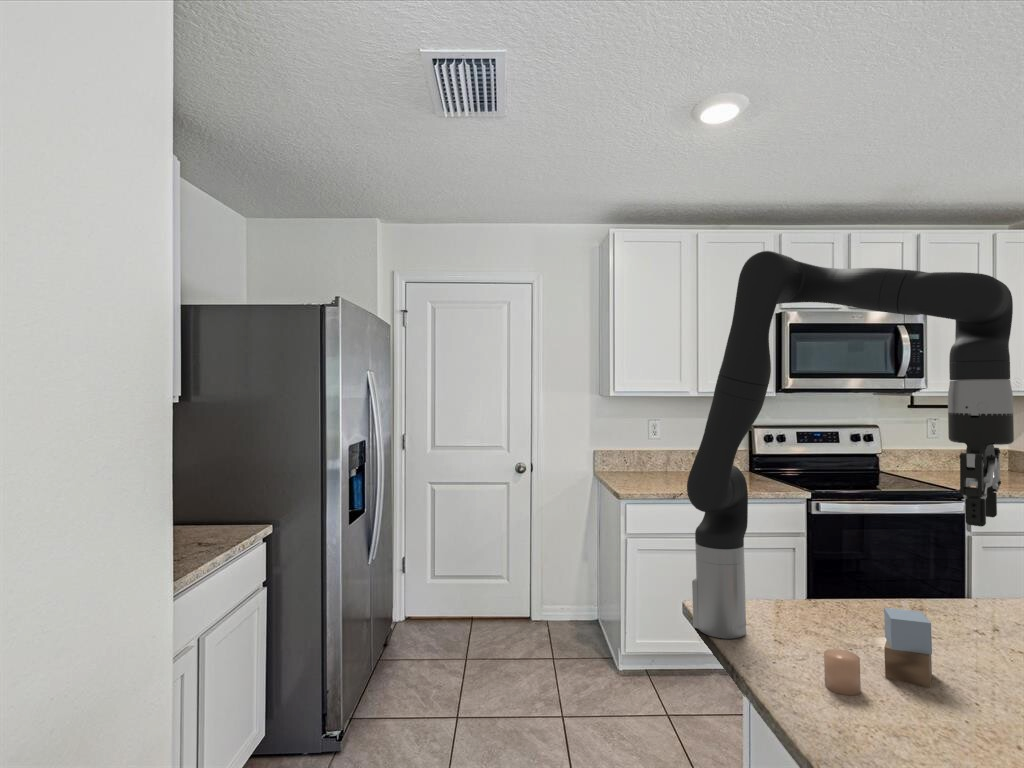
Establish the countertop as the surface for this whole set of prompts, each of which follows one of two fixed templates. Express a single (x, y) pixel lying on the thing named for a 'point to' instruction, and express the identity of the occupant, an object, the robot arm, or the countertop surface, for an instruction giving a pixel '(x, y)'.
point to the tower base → (908, 666)
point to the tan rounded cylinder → (842, 672)
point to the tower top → (908, 630)
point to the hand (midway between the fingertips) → (981, 520)
